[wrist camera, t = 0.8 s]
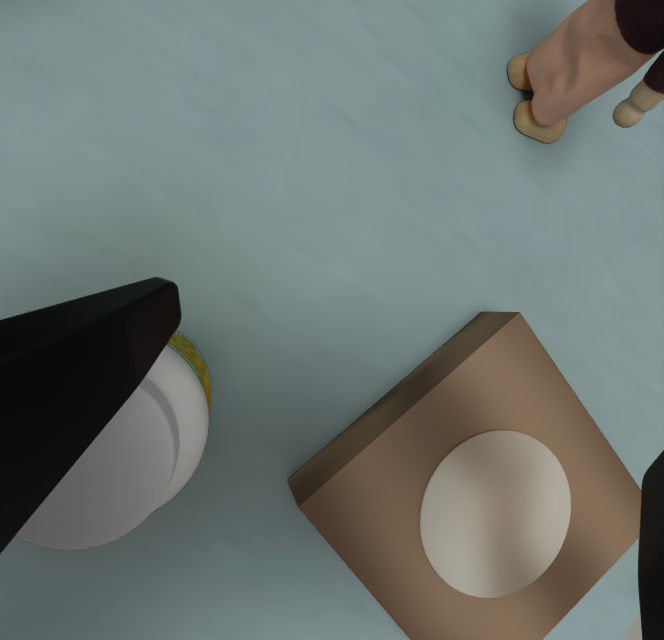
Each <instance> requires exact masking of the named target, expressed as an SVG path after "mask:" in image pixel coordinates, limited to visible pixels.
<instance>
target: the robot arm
mask: <svg viewBox="0 0 664 640" xmlns="http://www.w3.org/2000/svg"><path fill="white" fill-rule="evenodd" d="M180 321H181V308H180V300H179V292H178V287H177V285H176V284H175V283H174V282H172V281H169V280H166V279H163V278H159V277H154V278H150V279H146V280H143V281H139V282H136V283H132V284H128V285H125V286H121V287H118V288H114V289H110V290H107V291H103V292H100V293H96V294H92V295H89V296H85V297H82V298H78V299H74V300H71V301H67V302H64V303H60V304H56V305H53V306H49V307H46V308H42V309H38V310H35V311H31V312H28V313H24V314H20V315H17V316H13V317H10V318H6V319H2V320H0V554H1V552H2V551H3V550H4V549H5V548H6V546H7V545H8V544H9V543H10V541H11V540H12V539H13V538H14V537H15V535H16V534H17V533H18V532H19V531H20V529H21V528H22V527H23V526H24V525H25V523H26V522H27V521H28V520H29V518H30V517H31V516H32V515H33V514H34V512H35V511H36V510H37V509H38V508H39V506H40V505H41V504H42V503H43V502H44V500H45V499H46V498H47V497H48V495H49V494H50V493H51V492H52V491H53V489H54V488H55V487H56V486H57V485H58V483H59V482H60V481H61V480H62V479H63V477H64V476H65V475H66V474H67V472H68V471H69V470H70V469H71V468H72V466H73V465H74V464H75V463H76V462H77V460H78V459H79V458H80V457H81V456H82V454H83V453H84V452H85V451H86V449H87V448H88V447H89V446H90V445H91V443H92V442H93V441H94V440H95V439H96V437H97V436H98V435H99V434H100V433H101V431H102V430H103V429H104V428H105V426H106V425H107V424H108V423H109V422H110V420H111V419H112V418H113V417H114V416H115V414H116V413H117V412H118V411H119V410H120V408H121V407H122V406H123V405H124V403H125V402H126V401H127V400H128V399H129V397H130V396H131V395H132V394H133V392H134V391H135V390H136V389H137V387H138V386H139V385H140V383H141V382H142V381H143V379H144V378H145V376H146V375H147V373H148V372H149V370H150V369H151V367H152V366H153V364H154V363H155V361H156V360H157V358H158V357H159V355H160V354H161V352H162V351H163V349H164V348H165V346H166V345H167V343H168V342H169V340H170V339H171V337H172V336H173V334H174V333H175V331H176V330H177V328H178V326H179V324H180ZM638 588H639V601H640V614H641V627H642V640H664V450H663V451H662V453H661V454H660V455H659V456H658V457H657V459H656V460H655V461H654V462H653V463H652V465H651V466H650V467H649V468H648V470H647V471H646V473H645V475H644V477H643V481H642V491H641V510H640V530H639V550H638Z"/></svg>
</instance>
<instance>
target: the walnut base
mask: <svg viewBox="0 0 664 640" xmlns="http://www.w3.org/2000/svg"><path fill="white" fill-rule="evenodd" d="M287 481H288V483H289V486H290V488H291V491H292V493H293V496H294V498H295V500H296V503H297V505H298V507H299V509H300V510H301V511H302V512H303V513H304V514H305V516H306V517H307V518H308V519H309V520H310V522H311V523H312V524H313V525H314V526H315V527H316V529H317V530H318V531H319V532H320V533H321V535H322V536H323V537H324V538H325V539H326V540H327V542H328V543H329V544H330V545H331V546H332V548H333V549H334V550H335V551H336V552H337V554H338V555H339V556H340V557H341V558H342V559H343V561H344V562H345V563H346V564H347V565H348V567H349V568H350V569H351V570H352V571H353V572H354V574H355V575H356V576H357V577H358V578H359V580H360V581H361V582H362V583H363V584H364V585H365V587H366V588H367V589H368V590H369V591H370V593H371V594H372V595H373V596H374V597H375V598H376V600H377V601H378V602H379V603H380V604H381V606H382V607H383V608H384V609H385V610H386V611H387V613H388V614H389V615H390V616H391V617H392V619H393V620H394V621H395V622H396V623H397V624H398V626H399V627H400V628H401V629H402V630H403V632H404V633H405V634H406V635H407V636H408V637H409V639H410V640H543V638H544V637H545V636H546V635H547V634H548V633H549V632H550V631H551V630H552V629H553V628H554V627H555V626H556V625H557V624H558V623H559V622H560V621H561V620H562V618H563V617H564V616H565V615H566V614H567V613H568V612H569V611H570V610H571V609H572V608H573V607H574V606H575V605H576V604H577V603H578V602H579V601H580V599H581V598H582V597H583V596H584V595H585V594H586V593H587V592H588V591H589V590H590V589H591V588H592V587H593V586H594V585H595V584H596V583H597V582H598V581H599V579H600V578H601V577H602V576H603V575H604V574H605V573H606V572H607V571H608V570H609V569H610V568H611V567H612V566H613V565H614V564H615V563H616V562H617V560H618V559H619V558H620V557H621V556H622V555H623V554H624V553H625V552H626V551H627V550H628V549H629V548H630V547H631V546H632V545H633V544H634V543H635V542H636V540H637V539H638V538H639V530H640V510H641V489H640V488H639V486H638V485H637V484H636V482H635V481H634V479H633V478H632V476H631V475H630V473H629V472H628V470H627V469H626V467H625V466H624V464H623V463H622V462H621V460H620V459H619V457H618V456H617V454H616V453H615V451H614V450H613V448H612V447H611V445H610V444H609V442H608V441H607V440H606V438H605V437H604V435H603V434H602V432H601V431H600V429H599V428H598V426H597V425H596V423H595V422H594V420H593V419H592V417H591V416H590V415H589V413H588V412H587V410H586V409H585V407H584V406H583V404H582V403H581V401H580V400H579V398H578V397H577V395H576V394H575V393H574V391H573V390H572V388H571V387H570V385H569V384H568V382H567V381H566V379H565V378H564V376H563V375H562V373H561V372H560V371H559V369H558V368H557V366H556V365H555V363H554V362H553V360H552V359H551V357H550V356H549V354H548V353H547V351H546V350H545V348H544V347H543V346H542V344H541V343H540V341H539V340H538V338H537V337H536V335H535V334H534V332H533V331H532V329H531V328H530V326H529V325H528V324H527V322H526V321H525V319H524V318H523V316H522V315H521V313H520V312H481V313H480V314H479V315H477V316H476V317H475V318H474V319H473V320H472V321H470V322H469V323H468V324H467V325H466V326H465V327H464V328H462V329H461V330H460V331H459V332H458V333H457V334H455V335H454V336H453V337H452V338H451V339H450V340H449V341H447V342H446V343H445V344H444V345H443V346H442V347H440V348H439V349H438V350H437V351H436V352H435V353H433V354H432V355H431V356H430V357H429V358H428V359H427V360H425V361H424V362H423V363H422V364H421V365H420V366H418V367H417V368H416V369H415V370H414V371H413V372H411V373H410V374H409V375H408V376H407V377H406V378H405V379H403V380H402V381H401V382H400V383H399V384H398V385H396V386H395V387H394V388H393V389H392V390H391V391H389V392H388V393H387V394H386V395H385V396H384V397H383V398H381V399H380V400H379V401H378V402H377V403H376V404H374V405H373V406H372V407H371V408H370V409H369V410H367V411H366V412H365V413H364V414H363V415H362V416H361V417H359V418H358V419H357V420H356V421H355V422H354V423H352V424H351V425H350V426H349V427H348V428H347V429H345V430H344V431H343V432H342V433H341V434H340V435H339V436H337V437H336V438H335V439H334V440H333V441H332V442H330V443H329V444H328V445H327V446H326V447H325V448H323V449H322V450H321V451H320V452H319V453H318V454H317V455H315V456H314V457H313V458H312V459H311V460H310V461H308V462H307V463H306V464H305V465H304V466H303V467H301V468H300V469H299V470H298V471H297V472H296V473H295V474H293V475H292V476H291V477H290V478H289V479H288V480H287Z"/></svg>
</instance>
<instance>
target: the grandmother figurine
mask: <svg viewBox="0 0 664 640" xmlns="http://www.w3.org/2000/svg"><path fill="white" fill-rule="evenodd" d="M662 49H664V0H588V1H587V2H586V3H584V4H583V5H582V6H580V7H579V8H578V9H576V10H575V11H574V12H573V13H571V14H570V15H569V16H568V17H567V18H566V19H565V20H564V21H563V22H562V23H561V24H560V25H559V26H558V27H557V28H556V29H555V30H554V31H553V32H552V33H551V34H549V35H548V36H547V37H546V38H545V39H544V40H543V41H542V42H540V43H539V44H538V45H537V46H536V47H535V48H534V49H533V51H531V52H527V53H524V54H521V55H517V56H515V57H513V58H512V59H511V60H510V61H509V63H508V67H507V71H508V77H509V81H510V83H511V84H512V85H513V86H514V87H515V88H517V89H520V90H532V91H533V92H534V96H533V99H532V100H527V101H522V102H521V103H519V104H518V105H517V107H516V108H515V112H514V124H515V126H516V128H517V129H518V131H520V132H521V133H523V134H525V135H527V136H530V137H532V138H535V139H537V140H539V141H542V142H545V143H551V142H555V141H556V140H557V139H558V138H559V137H560V136H561V135H562V134H563V132H564V130H565V127H566V124H567V117H568V116H569V115H571V114H573V113H574V112H576V111H577V110H579V109H580V108H581V107H583V106H584V105H586V104H587V103H589V102H590V101H592V100H594V99H595V98H597V97H598V96H600V95H602V94H603V93H605V92H606V91H608V90H610V89H611V88H613V87H615V86H616V85H618V84H619V83H621V82H622V81H624V80H625V79H626V78H628V77H629V76H631V75H632V74H634V73H635V72H636V71H637V70H638V69H639V68H640V67H641V66H643V65H644V64H645V63H646V62H647V61H649V60H650V59H651V58H652V57H654V56H655V55H656V54H657V52H659V51H660V50H662ZM663 99H664V51H663V52H662V53H661V54H660V56H659V57H658V58H657V59H656V61H655V62H654V63H653V64H652V65H651V66H650V68H649V70H648V71H647V73H646V74H645V76H644V78H643V79H642V80H641V82H640V83H639V84H638V85H637V86H636V87H635V88H634V89H633V90H632V91H631V93H630V96H629V97H628V98H627V99H625V100H623V101H621V102H620V103H619V104H618V105H617V106H616V107H615V109H614V111H613V115H612V116H613V120H614V122H615V124H617V125H618V126H620V127H623V128H629V127H632V126H634V125H636V124H637V123H638V122H639V121H640V120H641V119H642V117H643V115H644V113H645V112H646V111H649V110H652V109H653V108H654V107H655V106H656V105H657V104H658V103H659V102H660V101H662V100H663Z"/></svg>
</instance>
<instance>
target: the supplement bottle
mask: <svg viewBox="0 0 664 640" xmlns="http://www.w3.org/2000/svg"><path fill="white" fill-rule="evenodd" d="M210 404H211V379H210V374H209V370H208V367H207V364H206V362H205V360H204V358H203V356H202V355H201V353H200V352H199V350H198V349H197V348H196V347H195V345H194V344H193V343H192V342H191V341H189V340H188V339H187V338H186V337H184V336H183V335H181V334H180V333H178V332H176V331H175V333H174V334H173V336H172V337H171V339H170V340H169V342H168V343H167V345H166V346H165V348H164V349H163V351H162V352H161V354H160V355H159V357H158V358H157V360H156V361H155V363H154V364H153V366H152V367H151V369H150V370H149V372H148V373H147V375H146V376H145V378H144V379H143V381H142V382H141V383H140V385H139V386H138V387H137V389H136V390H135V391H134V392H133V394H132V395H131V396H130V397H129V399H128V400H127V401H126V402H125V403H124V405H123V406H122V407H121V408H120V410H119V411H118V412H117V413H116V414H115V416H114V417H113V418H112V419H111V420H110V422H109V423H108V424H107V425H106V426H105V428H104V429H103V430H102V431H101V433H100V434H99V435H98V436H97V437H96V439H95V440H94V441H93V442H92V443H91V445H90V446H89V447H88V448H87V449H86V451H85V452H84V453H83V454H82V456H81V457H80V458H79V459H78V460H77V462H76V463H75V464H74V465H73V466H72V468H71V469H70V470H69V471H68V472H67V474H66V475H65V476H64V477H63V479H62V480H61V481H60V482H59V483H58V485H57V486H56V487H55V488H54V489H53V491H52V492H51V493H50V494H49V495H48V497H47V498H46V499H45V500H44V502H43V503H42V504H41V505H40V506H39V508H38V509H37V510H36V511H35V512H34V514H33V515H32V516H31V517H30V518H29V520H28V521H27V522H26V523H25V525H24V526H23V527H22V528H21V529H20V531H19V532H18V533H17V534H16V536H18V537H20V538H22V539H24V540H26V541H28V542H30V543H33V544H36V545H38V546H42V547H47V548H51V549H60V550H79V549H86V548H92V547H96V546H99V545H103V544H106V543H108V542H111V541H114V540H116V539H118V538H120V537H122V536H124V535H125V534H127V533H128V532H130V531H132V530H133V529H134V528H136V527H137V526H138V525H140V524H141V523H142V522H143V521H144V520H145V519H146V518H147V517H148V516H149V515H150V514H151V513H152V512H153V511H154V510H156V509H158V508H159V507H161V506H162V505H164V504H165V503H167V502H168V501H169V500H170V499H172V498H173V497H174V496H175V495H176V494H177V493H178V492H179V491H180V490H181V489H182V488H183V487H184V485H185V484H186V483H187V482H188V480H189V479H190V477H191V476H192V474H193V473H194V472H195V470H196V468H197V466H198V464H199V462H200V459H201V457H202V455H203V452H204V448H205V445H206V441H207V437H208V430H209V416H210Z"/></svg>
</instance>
